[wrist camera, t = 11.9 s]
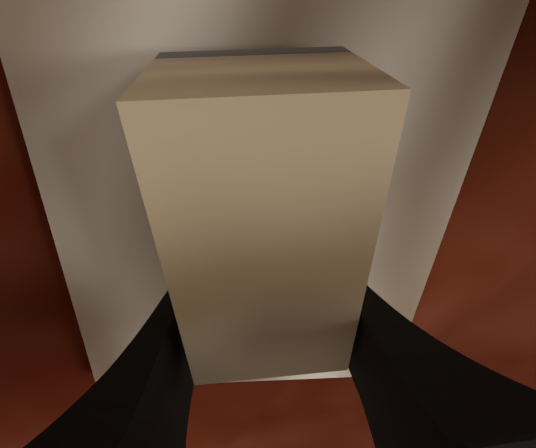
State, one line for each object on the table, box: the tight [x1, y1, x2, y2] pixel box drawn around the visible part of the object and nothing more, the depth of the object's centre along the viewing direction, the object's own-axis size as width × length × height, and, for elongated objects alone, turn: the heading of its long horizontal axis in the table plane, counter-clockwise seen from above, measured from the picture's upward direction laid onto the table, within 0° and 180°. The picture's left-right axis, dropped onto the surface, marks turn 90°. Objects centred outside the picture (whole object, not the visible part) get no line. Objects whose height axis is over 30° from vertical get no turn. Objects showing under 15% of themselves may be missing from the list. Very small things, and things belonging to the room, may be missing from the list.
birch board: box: [0, 0, 529, 383], centre depth 11 cm, size 14×22×1 cm, turn 177°
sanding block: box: [116, 46, 411, 385], centre depth 9 cm, size 8×4×4 cm, turn 2°
